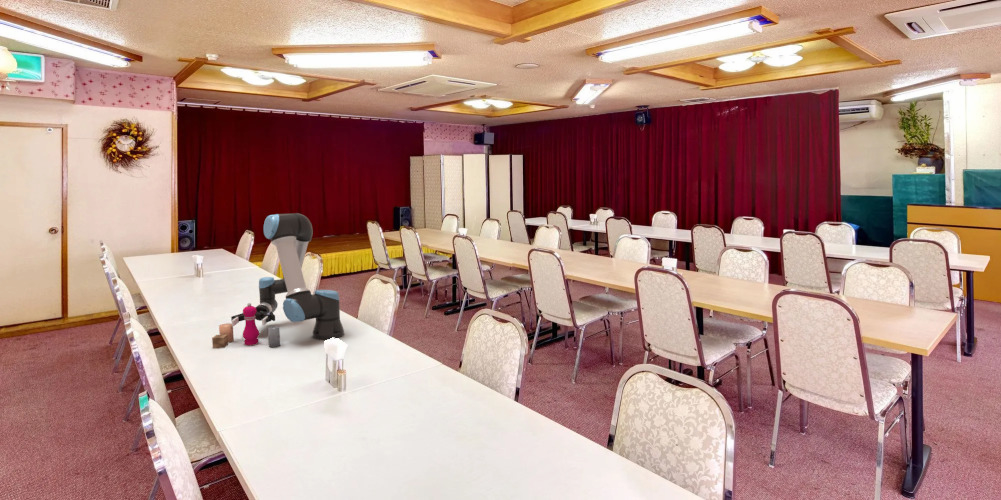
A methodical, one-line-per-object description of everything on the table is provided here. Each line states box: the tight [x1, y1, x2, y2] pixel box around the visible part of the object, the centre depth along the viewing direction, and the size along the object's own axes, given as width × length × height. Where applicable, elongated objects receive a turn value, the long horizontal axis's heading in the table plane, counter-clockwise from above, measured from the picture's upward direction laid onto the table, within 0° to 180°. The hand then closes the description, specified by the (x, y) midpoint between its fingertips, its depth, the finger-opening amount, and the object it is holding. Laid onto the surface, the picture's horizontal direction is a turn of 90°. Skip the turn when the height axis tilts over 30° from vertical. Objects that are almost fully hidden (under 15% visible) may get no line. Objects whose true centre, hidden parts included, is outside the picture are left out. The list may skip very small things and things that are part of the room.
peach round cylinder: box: [218, 323, 235, 344], centre depth 261 cm, size 6×6×8 cm
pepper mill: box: [242, 302, 260, 346], centre depth 256 cm, size 7×7×20 cm
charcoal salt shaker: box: [267, 325, 281, 349], centre depth 254 cm, size 5×5×9 cm
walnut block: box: [211, 334, 229, 349], centre depth 253 cm, size 5×5×5 cm
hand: (247, 323), depth 253 cm, fingers open, 13 cm apart
